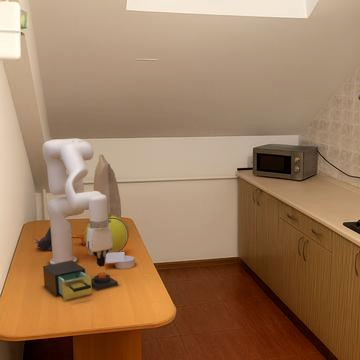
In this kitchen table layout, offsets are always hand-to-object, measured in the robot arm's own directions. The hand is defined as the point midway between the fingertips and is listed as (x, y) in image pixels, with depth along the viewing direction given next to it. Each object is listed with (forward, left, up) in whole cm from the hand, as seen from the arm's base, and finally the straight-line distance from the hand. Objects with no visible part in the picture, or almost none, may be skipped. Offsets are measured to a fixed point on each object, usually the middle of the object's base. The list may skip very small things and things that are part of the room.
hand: (101, 265), depth 235 cm
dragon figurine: (-66, +6, -9) cm, 66 cm away
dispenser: (-6, -14, -8) cm, 17 cm away
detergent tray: (+5, -14, -7) cm, 17 cm away
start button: (0, 0, -5) cm, 5 cm away
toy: (-38, +19, -9) cm, 43 cm away
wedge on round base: (-18, +17, -9) cm, 26 cm away
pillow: (-78, +38, -9) cm, 88 cm away
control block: (0, 0, -8) cm, 8 cm away
